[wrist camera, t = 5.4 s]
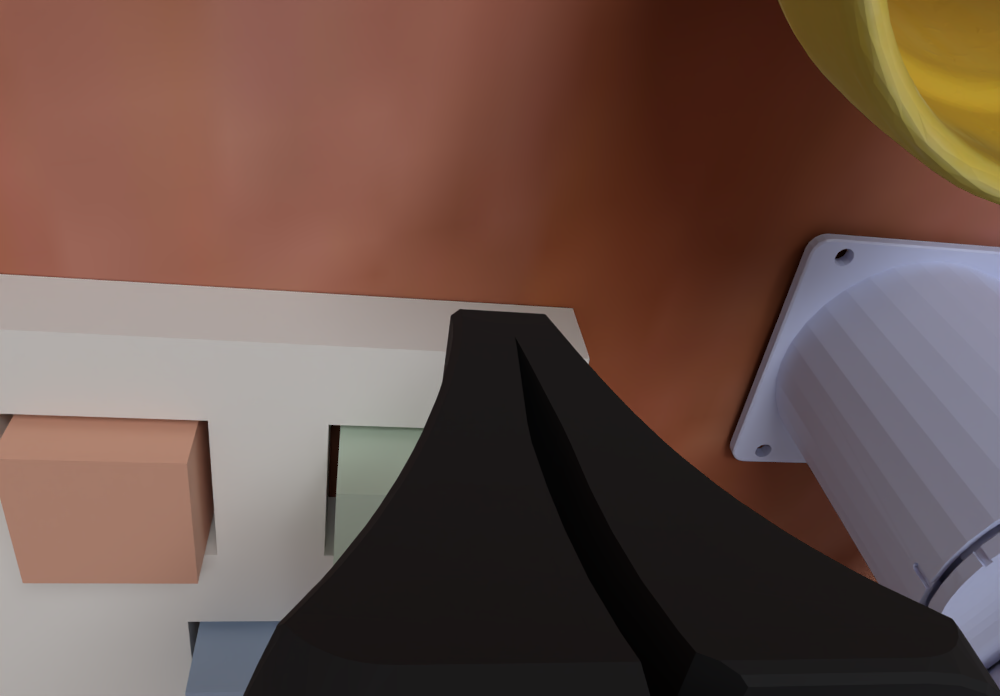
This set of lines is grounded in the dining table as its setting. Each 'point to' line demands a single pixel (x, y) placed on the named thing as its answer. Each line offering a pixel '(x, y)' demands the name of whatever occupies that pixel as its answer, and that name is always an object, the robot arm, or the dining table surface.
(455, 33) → the dining table surface
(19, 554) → the terracotta button
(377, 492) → the sage button
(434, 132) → the dining table surface
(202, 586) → the white button panel
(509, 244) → the dining table surface
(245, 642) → the slate button
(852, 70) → the plant pot
